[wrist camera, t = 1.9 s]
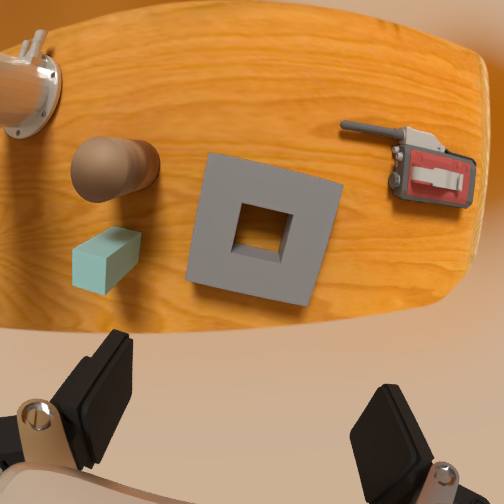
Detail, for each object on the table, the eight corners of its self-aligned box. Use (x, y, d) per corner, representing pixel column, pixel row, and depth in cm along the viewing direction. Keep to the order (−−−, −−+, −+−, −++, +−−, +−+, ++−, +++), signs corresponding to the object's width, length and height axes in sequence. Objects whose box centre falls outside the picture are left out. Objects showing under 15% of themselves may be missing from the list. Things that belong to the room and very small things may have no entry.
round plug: (119, 137, 33) (75, 134, 23) (164, 144, 33) (131, 140, 24) (111, 185, 35) (67, 197, 25) (155, 194, 35) (120, 208, 25)
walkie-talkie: (470, 146, 32) (337, 116, 32) (489, 147, 28) (348, 111, 28) (464, 208, 35) (332, 190, 35) (482, 214, 31) (342, 194, 31)
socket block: (214, 153, 33) (209, 152, 30) (334, 181, 34) (343, 185, 30) (192, 267, 37) (185, 280, 34) (302, 291, 38) (307, 306, 34)
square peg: (113, 226, 36) (72, 249, 26) (141, 232, 36) (106, 258, 27) (111, 255, 37) (72, 285, 28) (138, 262, 37) (104, 295, 28)
